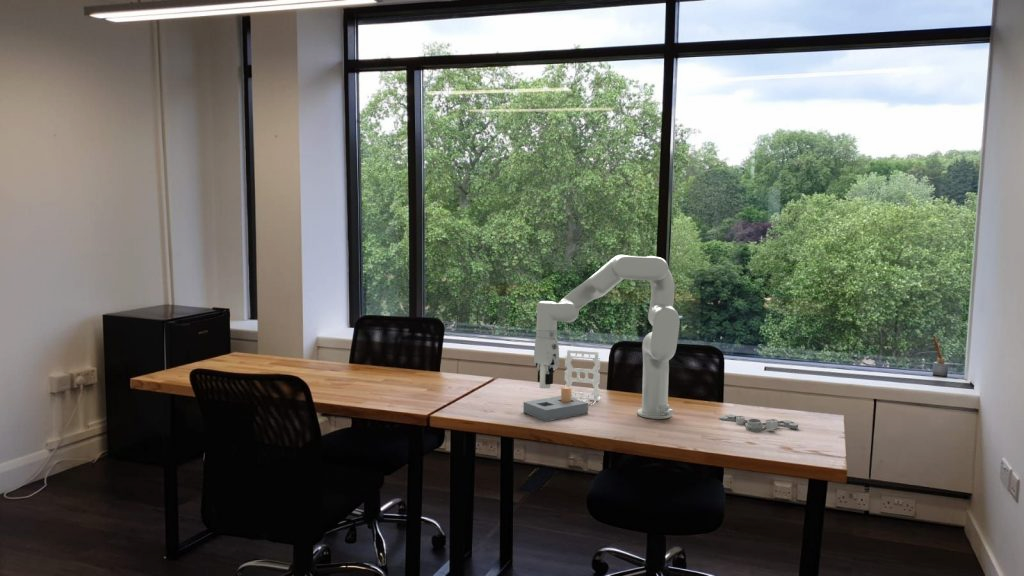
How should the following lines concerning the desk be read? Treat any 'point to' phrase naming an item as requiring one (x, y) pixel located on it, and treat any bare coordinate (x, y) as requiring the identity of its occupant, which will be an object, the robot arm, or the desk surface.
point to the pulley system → (759, 423)
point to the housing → (554, 408)
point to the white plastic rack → (586, 371)
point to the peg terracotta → (566, 394)
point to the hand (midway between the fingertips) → (545, 382)
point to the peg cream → (543, 376)
